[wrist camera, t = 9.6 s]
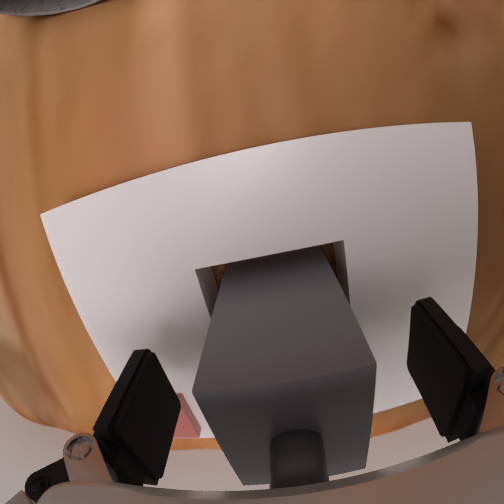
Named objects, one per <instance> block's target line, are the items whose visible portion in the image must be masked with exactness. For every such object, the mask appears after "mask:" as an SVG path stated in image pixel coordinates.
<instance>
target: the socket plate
mask: <svg viewBox="0 0 504 504" xmlns="http://www.w3.org/2000/svg"><path fill="white" fill-rule="evenodd" d="M40 216H41V219H42V222H43V225H44V228H45V231H46V234H47V237H48V240H49V243H50V246H51V249H52V252H53V254H54V257H55V260H56V262H57V265H58V267H59V270H60V272H61V275H62V277H63V280H64V282H65V284H66V287H67V289H68V291H69V294H70V296H71V298H72V300H73V303H74V305H75V307H76V309H77V311H78V313H79V315H80V318H81V320H82V322H83V324H84V326H85V328H86V330H87V332H88V334H89V335H90V337H91V339H92V341H93V343H94V345H95V347H96V349H97V350H98V352H99V354H100V356H101V358H102V359H103V361H104V363H105V365H106V366H107V368H108V370H109V372H110V373H111V375H112V377H113V378H114V380H115V381H116V382H117V380H118V378H119V376H120V374H121V373H122V371H123V369H124V367H125V365H126V363H127V361H128V360H129V358H130V356H131V354H132V352H133V351H134V350H139V349H149V350H151V352H154V353H155V354H156V355H157V358H158V360H159V362H160V364H161V366H162V368H163V370H164V372H165V373H166V375H167V377H168V379H169V381H170V383H171V385H172V387H173V389H174V391H175V392H176V394H177V396H178V398H179V400H180V403H181V410H180V414H179V417H178V421H177V425H176V428H175V432H174V436H173V438H215V436H214V434H213V433H212V431H211V429H210V427H209V425H208V423H207V421H206V419H205V418H204V416H203V414H202V412H201V410H200V408H199V406H198V404H197V402H196V400H195V398H194V396H193V394H192V388H193V385H194V381H195V377H196V373H197V369H198V365H199V362H200V358H201V354H202V350H203V347H204V343H205V339H206V336H207V332H208V328H209V325H210V321H211V317H212V314H213V310H214V306H215V303H216V299H217V296H218V292H219V291H218V287H217V284H216V281H215V277H214V274H213V271H212V267H211V266H215V265H220V264H225V263H230V262H235V261H240V260H246V259H251V258H256V257H261V256H266V255H271V254H276V253H281V252H286V251H291V250H296V249H301V248H307V247H312V246H317V245H322V244H327V243H332V242H333V248H334V255H335V263H336V272H337V280H338V282H339V284H340V286H341V288H342V290H343V292H344V294H345V296H346V298H347V300H348V302H349V304H350V306H351V309H352V311H353V313H354V315H355V317H356V319H357V321H358V323H359V325H360V328H361V330H362V332H363V334H364V336H365V338H366V341H367V343H368V345H369V347H370V349H371V352H372V354H373V356H374V358H375V361H376V363H377V370H376V385H375V397H374V408H373V413H377V412H380V411H384V410H387V409H391V408H394V407H397V406H400V405H404V404H407V403H410V402H413V401H416V400H419V399H422V396H421V394H420V392H419V390H418V389H417V387H416V385H415V383H414V381H413V379H412V377H411V375H410V373H409V371H408V368H407V354H408V344H409V332H410V317H411V307H412V306H413V305H415V302H416V301H417V300H420V299H423V298H427V297H432V298H433V299H434V300H435V301H436V302H437V303H438V304H439V306H440V307H441V308H442V309H443V310H444V311H445V312H446V313H447V314H448V316H449V317H450V318H451V319H452V320H453V321H454V322H455V324H456V325H457V326H459V327H460V328H461V329H462V330H463V331H464V333H465V334H466V331H467V326H468V321H469V315H470V309H471V302H472V295H473V287H474V279H475V269H476V256H477V239H478V187H477V170H476V158H475V148H474V139H473V132H472V125H471V122H438V123H421V124H407V125H395V126H384V127H375V128H366V129H358V130H350V131H342V132H335V133H329V134H322V135H316V136H310V137H304V138H298V139H292V140H287V141H282V142H277V143H272V144H267V145H262V146H257V147H252V148H248V149H243V150H239V151H234V152H230V153H226V154H222V155H218V156H214V157H210V158H206V159H202V160H198V161H194V162H191V163H187V164H183V165H180V166H176V167H173V168H169V169H166V170H162V171H159V172H156V173H152V174H149V175H146V176H143V177H139V178H136V179H133V180H130V181H127V182H124V183H121V184H118V185H115V186H112V187H109V188H106V189H104V190H101V191H98V192H95V193H92V194H90V195H87V196H84V197H82V198H79V199H76V200H74V201H71V202H69V203H66V204H64V205H61V206H59V207H56V208H54V209H52V210H49V211H47V212H45V213H42V214H40Z"/></svg>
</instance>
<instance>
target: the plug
mask: <svg viewBox="0 0 504 504" xmlns="http://www.w3.org/2000/svg"><path fill="white" fill-rule="evenodd" d="M376 370H377V363H376V361H375V358H374V356H373V354H372V352H371V349H370V347H369V345H368V343H367V341H366V338H365V336H364V334H363V332H362V330H361V328H360V325H359V323H358V321H357V319H356V317H355V315H354V313H353V311H352V309H351V306H350V304H349V302H348V300H347V298H346V296H345V294H344V292H343V290H342V288H341V286H340V284H339V282H338V280H337V278H336V276H335V274H334V272H333V270H332V268H331V266H330V264H329V262H328V260H327V258H326V256H325V254H324V253H323V251H322V249H321V247H320V245H317V246H312V247H307V248H301V249H296V250H291V251H286V252H281V253H276V254H271V255H266V256H261V257H256V258H251V259H246V260H240V261H235V262H230V263H227V264H226V267H225V271H224V274H223V278H222V281H221V285H220V288H219V292H218V296H217V299H216V303H215V306H214V310H213V314H212V317H211V321H210V325H209V328H208V332H207V336H206V339H205V343H204V347H203V350H202V354H201V358H200V362H199V365H198V369H197V373H196V377H195V381H194V385H193V388H192V394H193V396H194V398H195V400H196V402H197V404H198V406H199V408H200V410H201V412H202V414H203V416H204V418H205V419H206V421H207V423H208V425H209V427H210V429H211V431H212V433H213V434H214V436H215V438H216V440H217V442H218V444H219V445H220V447H221V449H222V451H223V452H224V454H225V456H226V458H227V459H228V461H229V463H230V464H231V466H232V468H233V469H234V471H235V473H236V474H237V476H238V478H239V479H240V481H241V483H242V484H243V485H259V484H270V489H277V488H287V487H295V486H303V485H310V484H316V483H322V482H328V481H329V476H331V475H337V474H341V473H346V472H351V471H355V470H360V469H363V468H365V467H366V461H367V454H368V448H369V441H370V434H371V426H372V417H373V408H374V397H375V385H376Z"/></svg>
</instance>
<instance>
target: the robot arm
mask: <svg viewBox="0 0 504 504" xmlns="http://www.w3.org/2000/svg"><path fill="white" fill-rule="evenodd" d="M407 368H408V371H409V373H410V375H411V377H412V379H413V381H414V383H415V385H416V387H417V389H418V390H419V392H420V394H421V396H422V398H423V400H424V402H425V404H426V406H427V408H428V411H429V413H430V415H431V417H432V419H433V421H434V423H435V425H436V427H437V429H438V431H439V434H440V435H441V436H442V437H444V436H445V437H446V439H447V441H448V443H449V442H451V441H453V440H456V439H458V438H459V439H460V441H459V442H457V443H455V444H452V445H450V446H447V447H445V448H442V449H440V450H437V451H435V452H432V453H430V454H427V455H424V456H421V457H418V458H415V459H412V460H409V461H406V462H403V463H400V464H397V465H394V466H390V467H387V468H384V469H380V470H376V471H373V472H369V473H365V474H361V475H357V476H352V477H348V478H343V479H338V480H333V481H328V482H322V483H316V484H310V485H303V486H295V487H287V488H277V489H266V490H249V491H191V490H175V489H164V488H153V487H144V486H143V483H144V484H150V485H157V484H158V480H159V478H162V477H163V473H164V470H165V466H166V462H167V458H168V455H169V451H170V447H171V443H172V440H173V436H174V432H175V428H176V425H177V421H178V417H179V414H180V410H181V403H180V400H179V398H178V396H177V394H176V392H175V391H174V389H173V387H172V385H171V383H170V381H169V379H168V377H167V375H166V373H165V372H164V370H163V368H162V366H161V364H160V362H159V360H158V358H157V355H156V354H155V353H154V352H151V350H149V349H139V350H134V351H133V352H132V354H131V356H130V358H129V360H128V361H127V363H126V365H125V367H124V369H123V371H122V373H121V374H120V376H119V378H118V380H117V382H116V384H115V386H114V388H113V390H112V391H111V393H110V395H109V397H108V399H107V401H106V403H105V405H104V407H103V409H102V411H101V413H100V415H99V417H98V419H97V421H96V423H95V425H94V427H93V430H94V431H95V432H94V434H93V435H91V434H89V433H79V434H76V435H74V436H73V437H71V438H70V439H69V440H68V441H67V442H66V444H65V445H64V449H63V457H64V458H62V459H60V460H59V461H56V462H54V463H52V464H50V465H48V466H46V467H44V468H42V469H40V470H38V471H36V472H34V473H33V474H31V475H30V476H29V478H28V479H27V481H26V483H25V492H24V491H22V490H21V491H20V492H18V493H17V494H16V495H15V496H14V497H13V498H11V499H10V500H9V501H8V502H7V503H5V504H504V366H503V367H500V368H498V369H497V370H495V369H494V368H493V367H492V366H491V364H490V363H489V362H488V360H487V359H486V358H485V357H484V355H483V354H482V353H481V352H480V351H479V349H478V348H477V347H476V346H475V344H474V343H473V342H472V341H471V340H470V338H469V337H468V336H467V335H466V334H465V333H464V331H463V330H462V329H461V328H460V327H459V326H457V325H456V324H455V322H454V321H453V320H452V319H451V318H450V317H449V316H448V314H447V313H446V312H445V311H444V310H443V309H442V308H441V307H440V306H439V304H438V303H437V302H436V301H435V300H434V299H433V298H432V297H427V298H423V299H420V300H417V301H416V302H415V305H413V306H412V307H411V317H410V332H409V344H408V354H407Z"/></svg>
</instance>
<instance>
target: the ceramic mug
mask: <svg viewBox="0 0 504 504" xmlns="http://www.w3.org/2000/svg"><path fill="white" fill-rule="evenodd" d="M99 1H101V0H0V14H8V15H14V16H36V15H50V14H56V13H62V12H67V11H71V10H75V9H79V8H83V7H86V6H89V5H91V4H94V3H97V2H99Z"/></svg>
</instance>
